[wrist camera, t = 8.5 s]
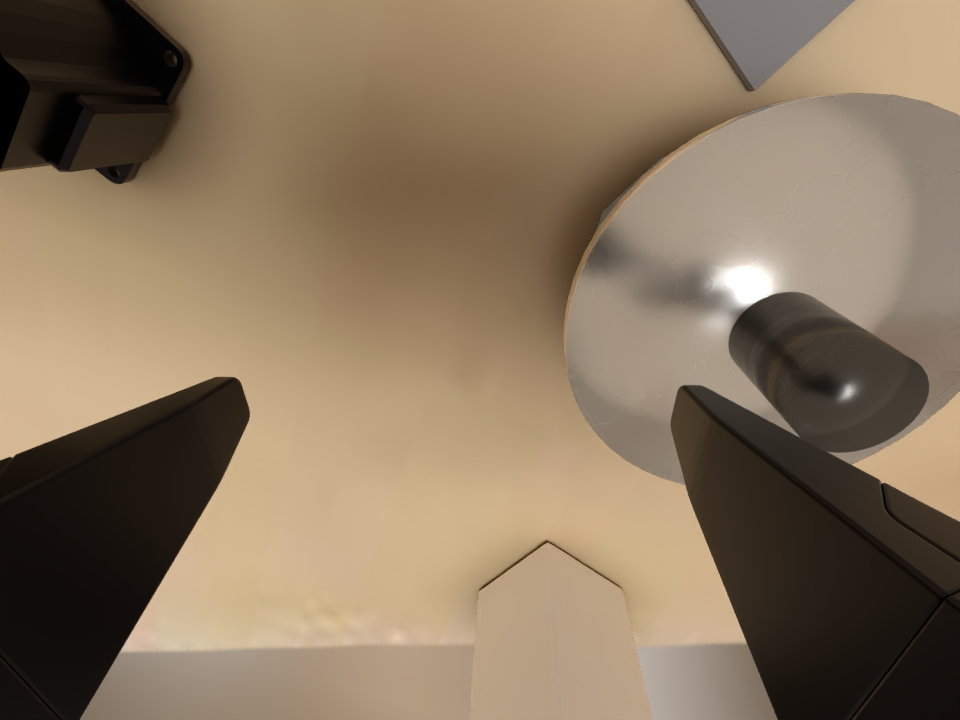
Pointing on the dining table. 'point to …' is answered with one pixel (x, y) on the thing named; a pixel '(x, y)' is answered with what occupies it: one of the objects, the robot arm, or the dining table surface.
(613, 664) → the milk carton
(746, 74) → the mat
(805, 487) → the robot arm
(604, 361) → the lid
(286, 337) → the dining table surface
